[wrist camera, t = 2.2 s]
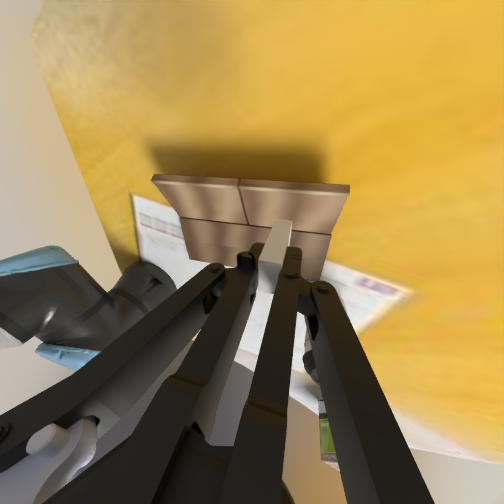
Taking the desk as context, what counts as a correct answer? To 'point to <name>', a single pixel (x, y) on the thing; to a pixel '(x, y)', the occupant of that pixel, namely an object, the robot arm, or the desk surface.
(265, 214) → the plank near
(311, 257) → the laid board
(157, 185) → the plank far
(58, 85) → the desk surface
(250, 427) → the robot arm
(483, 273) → the desk surface
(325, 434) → the tea box
